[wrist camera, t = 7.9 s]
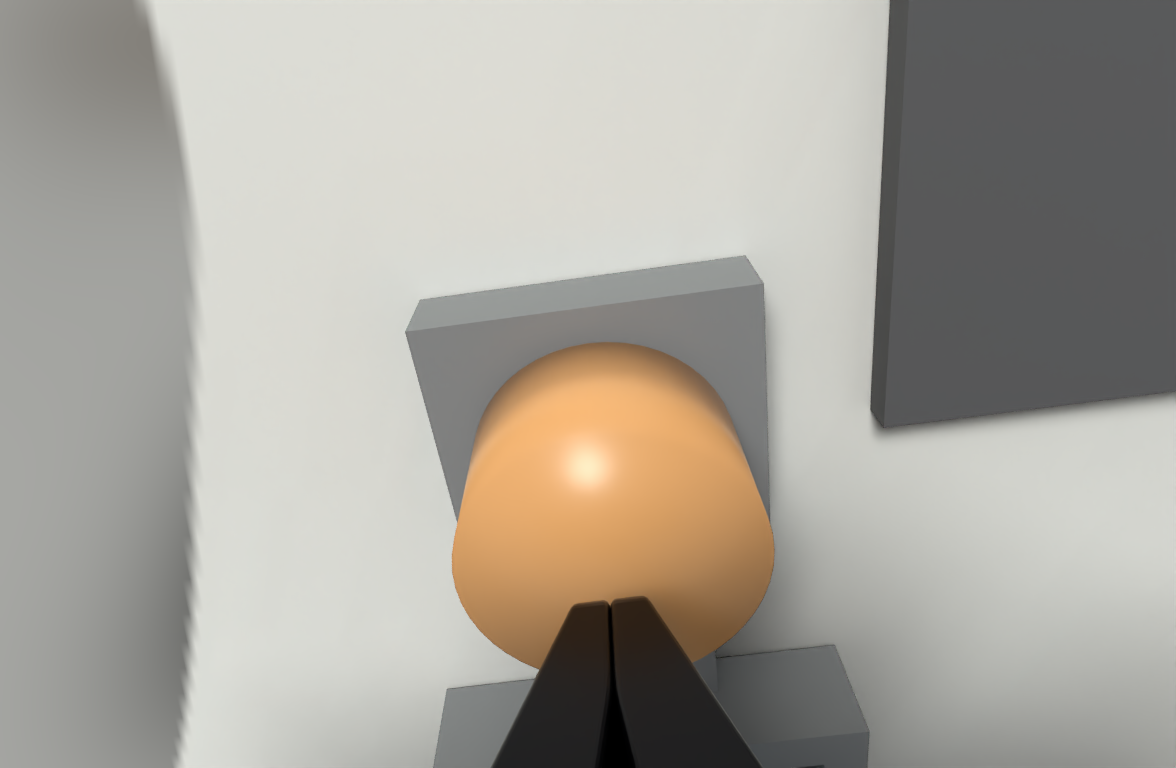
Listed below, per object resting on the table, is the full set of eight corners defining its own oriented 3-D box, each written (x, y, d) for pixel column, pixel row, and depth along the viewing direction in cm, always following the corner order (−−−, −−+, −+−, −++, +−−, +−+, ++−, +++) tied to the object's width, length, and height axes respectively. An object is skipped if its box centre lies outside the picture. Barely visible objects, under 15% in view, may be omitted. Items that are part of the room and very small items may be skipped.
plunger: (727, 502, 13) (776, 663, 10) (505, 529, 14) (487, 696, 10) (715, 293, 12) (771, 411, 8) (457, 327, 12) (417, 455, 9)
